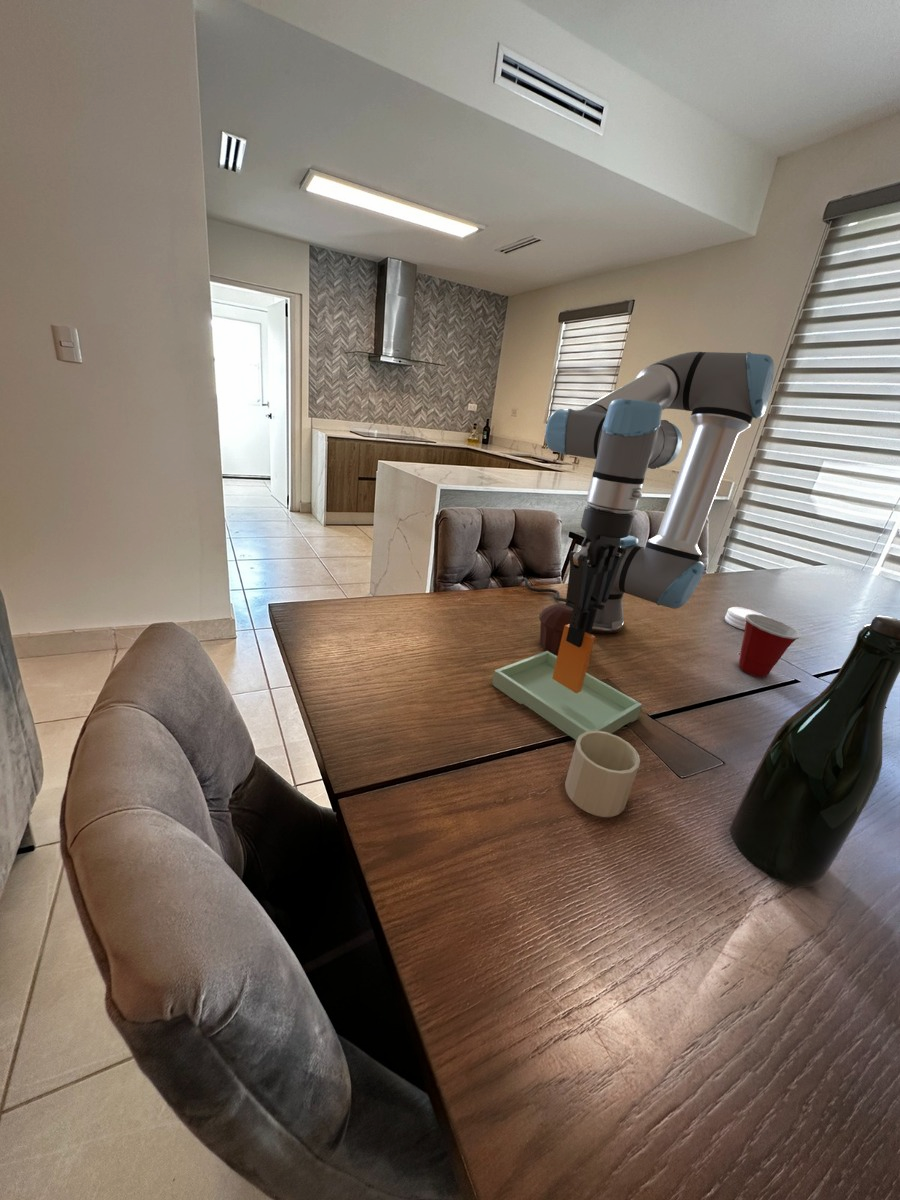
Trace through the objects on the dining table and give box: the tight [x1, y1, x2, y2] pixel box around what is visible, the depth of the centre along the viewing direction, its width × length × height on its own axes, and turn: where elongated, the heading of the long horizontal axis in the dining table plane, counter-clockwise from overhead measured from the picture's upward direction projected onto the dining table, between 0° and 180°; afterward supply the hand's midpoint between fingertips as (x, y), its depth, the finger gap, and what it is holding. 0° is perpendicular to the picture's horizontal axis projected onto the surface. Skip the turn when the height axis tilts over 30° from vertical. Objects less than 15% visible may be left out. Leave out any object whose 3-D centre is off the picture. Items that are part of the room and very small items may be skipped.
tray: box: [491, 650, 643, 742], centre depth 86 cm, size 22×16×3 cm
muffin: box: [538, 602, 573, 656], centre depth 105 cm, size 12×11×10 cm
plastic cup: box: [738, 614, 803, 678], centre depth 105 cm, size 11×11×12 cm
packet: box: [552, 624, 596, 693], centre depth 83 cm, size 6×1×11 cm, turn 40°
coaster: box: [724, 606, 765, 631], centre depth 132 cm, size 10×10×4 cm
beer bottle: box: [729, 615, 900, 888], centre depth 54 cm, size 10×10×33 cm
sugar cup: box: [564, 731, 641, 818], centre depth 64 cm, size 8×8×8 cm
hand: (577, 642), depth 82 cm, fingers closed on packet
